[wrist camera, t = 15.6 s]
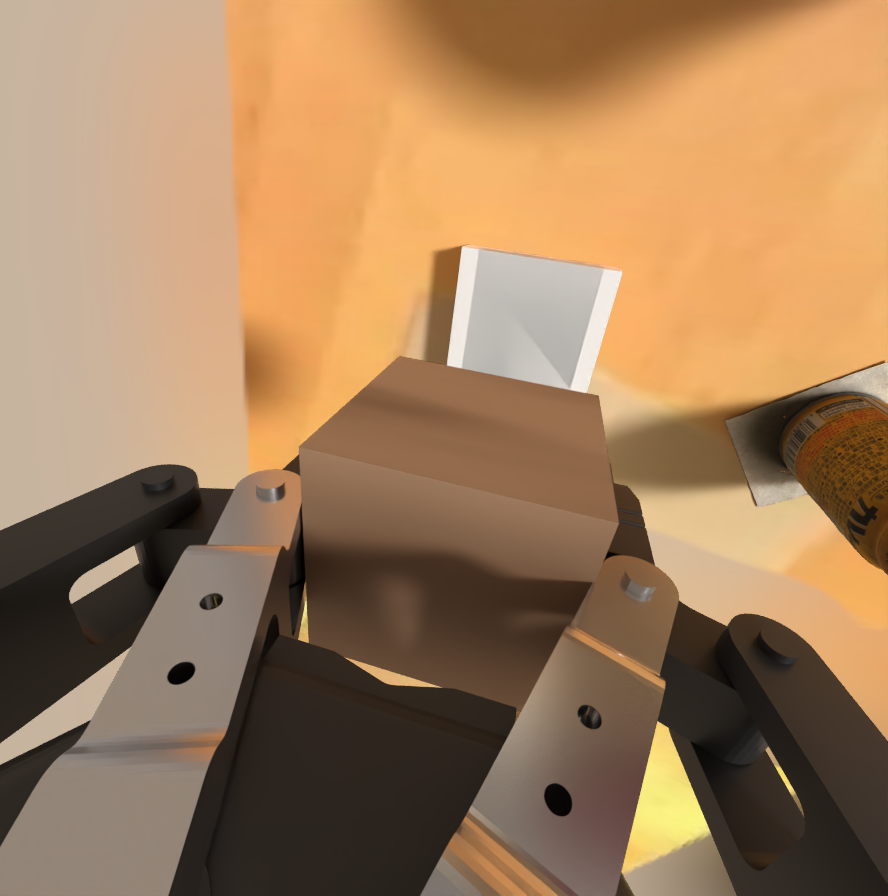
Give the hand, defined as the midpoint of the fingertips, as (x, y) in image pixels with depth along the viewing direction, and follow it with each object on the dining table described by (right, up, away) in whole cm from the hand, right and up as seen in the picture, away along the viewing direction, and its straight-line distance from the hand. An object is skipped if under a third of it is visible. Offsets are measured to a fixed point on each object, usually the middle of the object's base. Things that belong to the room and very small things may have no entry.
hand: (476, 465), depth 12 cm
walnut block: (0, 0, 0) cm, 0 cm away
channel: (+4, +2, +21) cm, 21 cm away
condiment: (+22, +1, +16) cm, 28 cm away
